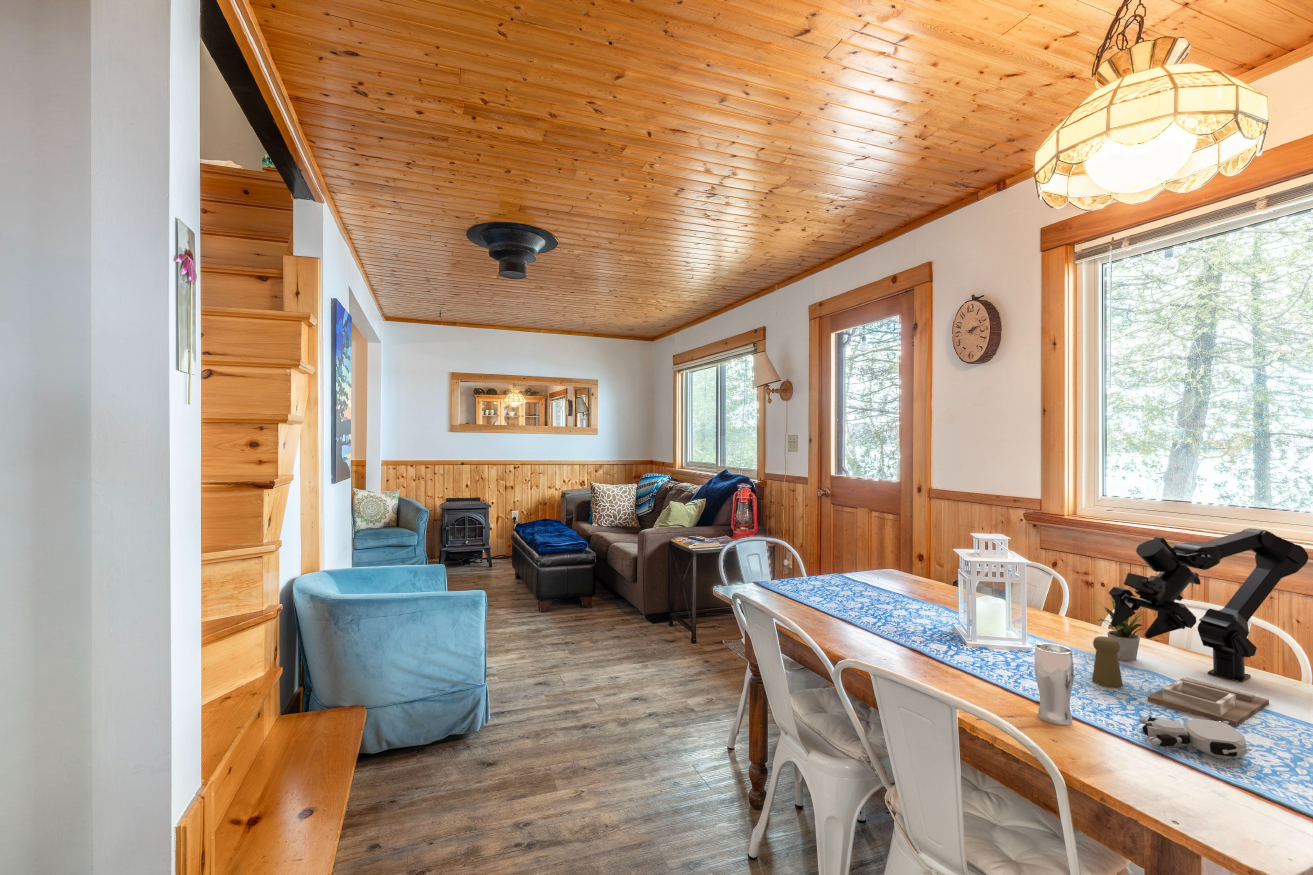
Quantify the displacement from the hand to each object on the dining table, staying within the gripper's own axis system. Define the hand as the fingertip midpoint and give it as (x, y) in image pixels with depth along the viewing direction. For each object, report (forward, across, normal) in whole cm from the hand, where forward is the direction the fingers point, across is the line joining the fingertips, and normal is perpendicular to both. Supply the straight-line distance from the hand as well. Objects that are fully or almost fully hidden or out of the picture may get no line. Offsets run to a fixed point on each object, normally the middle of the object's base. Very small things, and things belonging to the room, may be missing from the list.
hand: (1128, 631), depth 147 cm
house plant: (0, -16, +18) cm, 24 cm away
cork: (+13, 0, +5) cm, 14 cm away
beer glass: (+32, +16, -14) cm, 39 cm away
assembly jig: (+4, +13, +13) cm, 19 cm away
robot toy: (+20, +30, -2) cm, 36 cm away
